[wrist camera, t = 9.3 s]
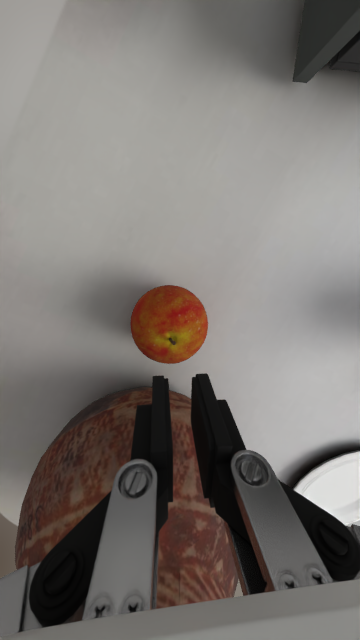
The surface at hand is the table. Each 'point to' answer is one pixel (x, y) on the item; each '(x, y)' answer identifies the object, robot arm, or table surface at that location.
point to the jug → (97, 481)
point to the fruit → (169, 324)
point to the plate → (335, 486)
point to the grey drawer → (328, 37)
